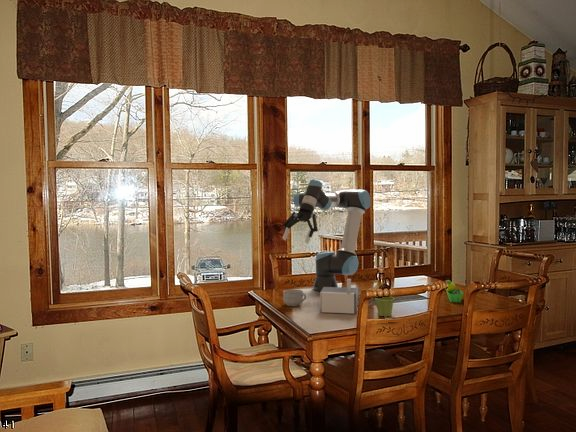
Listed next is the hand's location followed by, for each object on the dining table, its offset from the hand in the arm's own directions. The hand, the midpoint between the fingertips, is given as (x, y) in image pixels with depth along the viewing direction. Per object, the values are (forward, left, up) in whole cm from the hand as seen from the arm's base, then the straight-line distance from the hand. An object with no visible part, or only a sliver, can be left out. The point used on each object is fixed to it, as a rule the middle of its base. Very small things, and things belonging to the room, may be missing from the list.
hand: (295, 240), depth 240 cm
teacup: (-6, -1, -36) cm, 36 cm away
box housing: (-2, +23, -35) cm, 42 cm away
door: (+6, +22, -35) cm, 42 cm away
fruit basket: (-31, +83, -36) cm, 95 cm away
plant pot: (+6, +46, -36) cm, 58 cm away
